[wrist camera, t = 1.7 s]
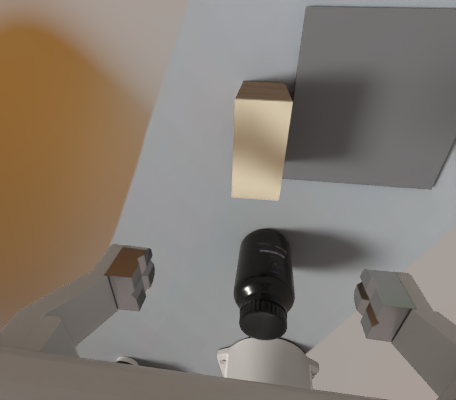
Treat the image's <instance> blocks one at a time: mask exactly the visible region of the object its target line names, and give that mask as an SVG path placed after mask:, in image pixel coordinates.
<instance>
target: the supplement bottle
mask: <svg viewBox="0 0 456 400" xmlns="http://www.w3.org/2000/svg"><path fill="white" fill-rule="evenodd" d="M234 299H235V301H236V304H237V305H238V307H239V308H240V320H239V324H240V328H241V330H242V331H243V332H244V333H245V334H246V335H248V336H249V337H252V338H254V339H258V340H266V341H267V340H274V339H277V338H279V337H281V336H282V335H284V333H285V332H286V329H287V312H288V311H289V310H290V309H291V308H292V306H293V303H294V300H295V293H294V282H293V271H292V260H291V250H290V246H289V243H288V241H287V240H286V239H285V238H284V237H283V236H282V235H280V234H279V233H277V232H274V231H271V230H258V231H254V232H252V233H250V234H249V235H247V236H246V237H245V238H244V239H243V241H242V243H241V246H240V252H239V259H238V265H237V272H236V279H235V286H234Z"/></svg>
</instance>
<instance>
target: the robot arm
mask: <svg viewBox="0 0 456 400" xmlns="http://www.w3.org/2000/svg"><path fill="white" fill-rule="evenodd" d="M151 258H152V251H151V249H150V248H143V247H135V246H127V245H117V244H113V245H111V246H110V247H109V248H108V250H107V251H106V252H105V254H104V255H103V256H102V258H101V259H100V261H99V262H98V263H97V265H96V266H95V267H94V269H93V270H92V271H91V273H90V274H84V275H82V276H81V277H79V278H77V279H75V280H73V281H72V282H70V283H68V284H66V285H64V286H63V287H61V288H59V289H57V290H55V291H54V292H52V293H50V294H48V295H46V296H45V297H43V298H41V299H39V300H37V301H36V302H34V303H32V304H30V305H28V306H26V307H25V308H23V309H21V310H19V311H18V312H17V314H16V315H15V316H14V317H13V318H12V319H11V320H10V322H9V323H8V324H7V325H6V326H5V327H4V328H3V329H2V330H1V332H0V400H386V399H379V398H371V397H364V396H357V395H349V394H342V393H335V392H327V391H320V390H313V389H312V379H313V378H314V376H315V375H316V374H317V373H318V371H319V364H318V363H317V362H315V361H313V360H312V359H310V358H308V357H307V356H306V355H305V354H304V352H303V351H302V350H301V349H300V348H298V347H297V346H295V345H294V344H292V343H290V342H287V341H285V340H281V339H274V340H267V341H266V340H258V339H254V338H248V339H244V340H242V341H239V342H237V343H236V344H234V345H233V346H231V347H229V348H225V349H221V350H219V351H218V352H217V359H218V362H219V365H220V368H221V371H222V373H223V376H224V377H218V376H211V375H203V374H196V373H189V372H181V371H174V370H167V369H159V368H152V367H145V366H138V365H130V364H123V363H116V362H109V361H101V360H94V359H87V358H80V357H79V355H78V352H77V350H76V348H75V346H77V345H78V344H79V343H80V342H81V341H83V340H84V339H85V338H86V337H87V336H88V335H90V334H91V333H92V332H93V331H94V330H95V329H97V328H98V327H99V326H100V325H101V324H102V323H104V322H105V321H106V320H107V319H108V318H110V317H111V316H112V315H113V314H114V313H115V312H117V311H118V310H117V309H119V310H130V311H140V309H141V306H142V304H143V302H144V300H145V298H146V294H145V291H146V290H147V289H149V288H150V287H151V284H152V282H153V278H154V270H155V268H154V264H153V263H152V262H151ZM360 278H361V280H362V282H361V283H359V284H357V286H356V289H355V292H354V301H355V306H356V309H357V311H358V312H359V313H360V314H361V315H362V316H363V317H362V319H361V324H362V327H363V330H364V332H365V335H366V338H367V339H373V340H381V341H387V342H392V344H393V345H394V347H395V348H396V349H397V350H398V351H399V352H400V353H401V354H402V356H403V357H404V358H405V359H406V360H407V361H408V362H409V363H410V364H411V366H412V367H413V368H414V369H415V370H416V371H417V372H418V374H419V375H420V376H421V377H422V378H423V379H424V380H425V381H426V382H427V384H428V385H429V386H430V387H431V388H432V389H433V390H434V391H435V393H436V394H437V395H438V396H439V398H438V399H437V400H456V325H455V324H454V323H452V322H451V321H450V320H448V319H447V318H446V317H444V316H443V315H442V314H440V313H439V312H434V311H433V310H432V308H431V306H430V305H429V303H428V302H427V300H426V298H425V297H424V295H423V294H422V292H421V290H420V289H419V287H418V285H417V284H416V282H415V281H414V279H413V277H412V276H411V275H410V274H408V273H401V272H389V271H378V270H367V269H364V270H363V271H362V273H361V276H360Z"/></svg>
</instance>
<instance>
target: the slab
mask: <svg viewBox="0 0 456 400" xmlns="http://www.w3.org/2000/svg"><path fill="white" fill-rule="evenodd" d="M292 105H293V101H292V99H291V96H290V94H289V92H288V89H287V87H286V84H285V83H280V82H256V81H243V83H242V86H241V88H240V90H239V92H238V94H237V96H236V98H235V115H234V143H233V172H232V197H236V198H249V199H261V200H274V201H279V196H280V189H281V182H282V175H283V168H284V161H285V154H286V147H287V140H288V133H289V126H290V119H291V112H292Z"/></svg>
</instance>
